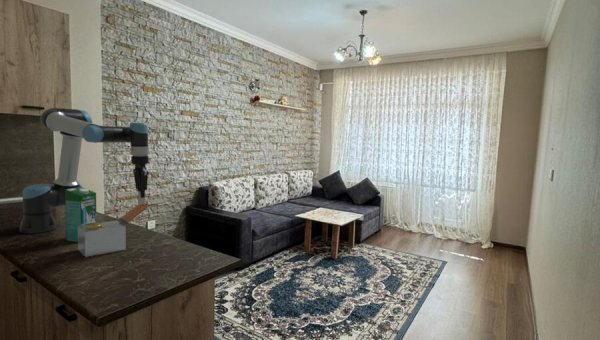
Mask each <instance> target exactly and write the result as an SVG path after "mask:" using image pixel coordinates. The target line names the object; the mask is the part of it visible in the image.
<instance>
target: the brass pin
mask: <svg viewBox="0 0 600 340" xmlns="http://www.w3.org/2000/svg"><path fill="white" fill-rule="evenodd" d="M101 227H103V223H102V222H98V221H97V222H96V223H89V224H86V229H98V228H101Z"/></svg>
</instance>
